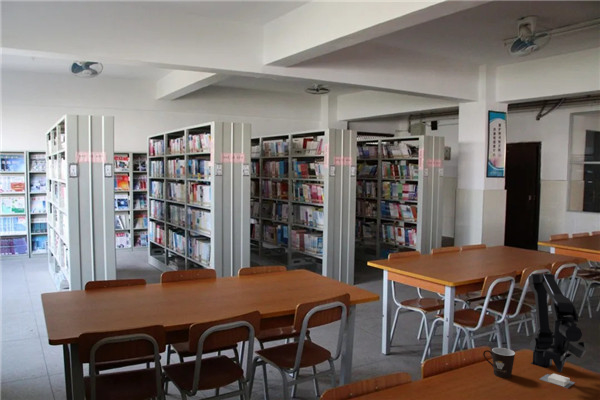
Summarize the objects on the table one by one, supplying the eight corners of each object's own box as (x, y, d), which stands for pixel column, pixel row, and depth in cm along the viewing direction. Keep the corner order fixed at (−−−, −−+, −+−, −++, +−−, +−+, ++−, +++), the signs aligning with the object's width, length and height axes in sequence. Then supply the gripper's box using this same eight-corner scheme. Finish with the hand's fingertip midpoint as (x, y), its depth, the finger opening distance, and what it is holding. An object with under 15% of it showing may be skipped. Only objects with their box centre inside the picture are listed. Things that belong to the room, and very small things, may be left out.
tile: (553, 378, 190) (547, 381, 186) (553, 373, 190) (547, 376, 186) (569, 383, 186) (564, 387, 182) (569, 378, 185) (564, 382, 182)
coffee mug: (518, 378, 190) (519, 354, 189) (502, 381, 187) (503, 356, 186) (496, 367, 201) (497, 344, 200) (480, 370, 197) (481, 346, 197)
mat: (539, 380, 189) (539, 379, 189) (547, 374, 194) (547, 373, 194) (567, 389, 181) (567, 388, 181) (575, 383, 186) (575, 382, 186)
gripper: (575, 343, 173) (573, 385, 174) (592, 333, 186) (590, 372, 186) (543, 335, 182) (541, 375, 182) (562, 326, 194) (560, 363, 195)
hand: (559, 371), depth 186 cm, fingers closed
